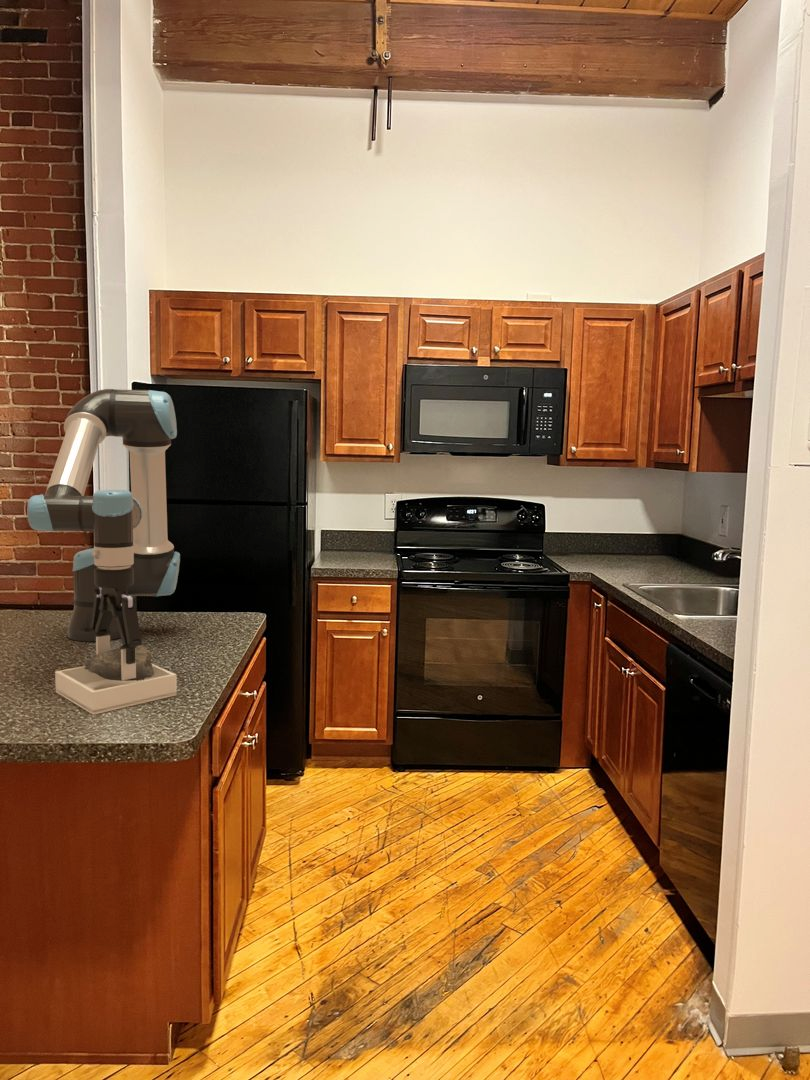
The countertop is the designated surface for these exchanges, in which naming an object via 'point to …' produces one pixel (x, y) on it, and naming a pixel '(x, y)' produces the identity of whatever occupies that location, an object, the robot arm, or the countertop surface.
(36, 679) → the countertop surface
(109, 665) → the rock
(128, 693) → the dish
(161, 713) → the countertop surface
